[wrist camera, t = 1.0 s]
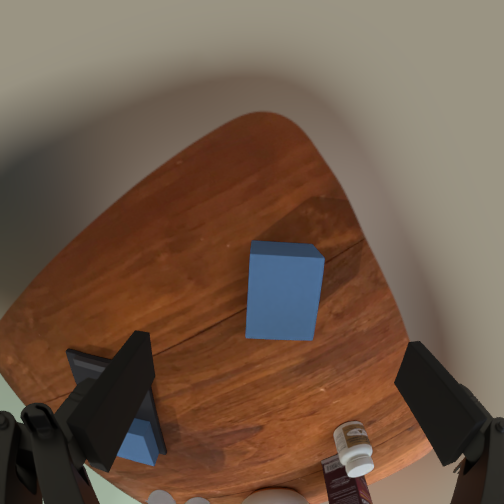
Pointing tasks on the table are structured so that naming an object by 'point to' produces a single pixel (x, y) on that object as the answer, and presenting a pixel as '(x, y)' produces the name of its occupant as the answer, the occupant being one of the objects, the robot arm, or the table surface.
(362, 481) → the supplement box
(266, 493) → the white patterned vase
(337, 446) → the pill bottle
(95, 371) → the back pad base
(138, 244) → the table surface
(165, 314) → the table surface
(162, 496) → the sunglasses
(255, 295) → the blue block
